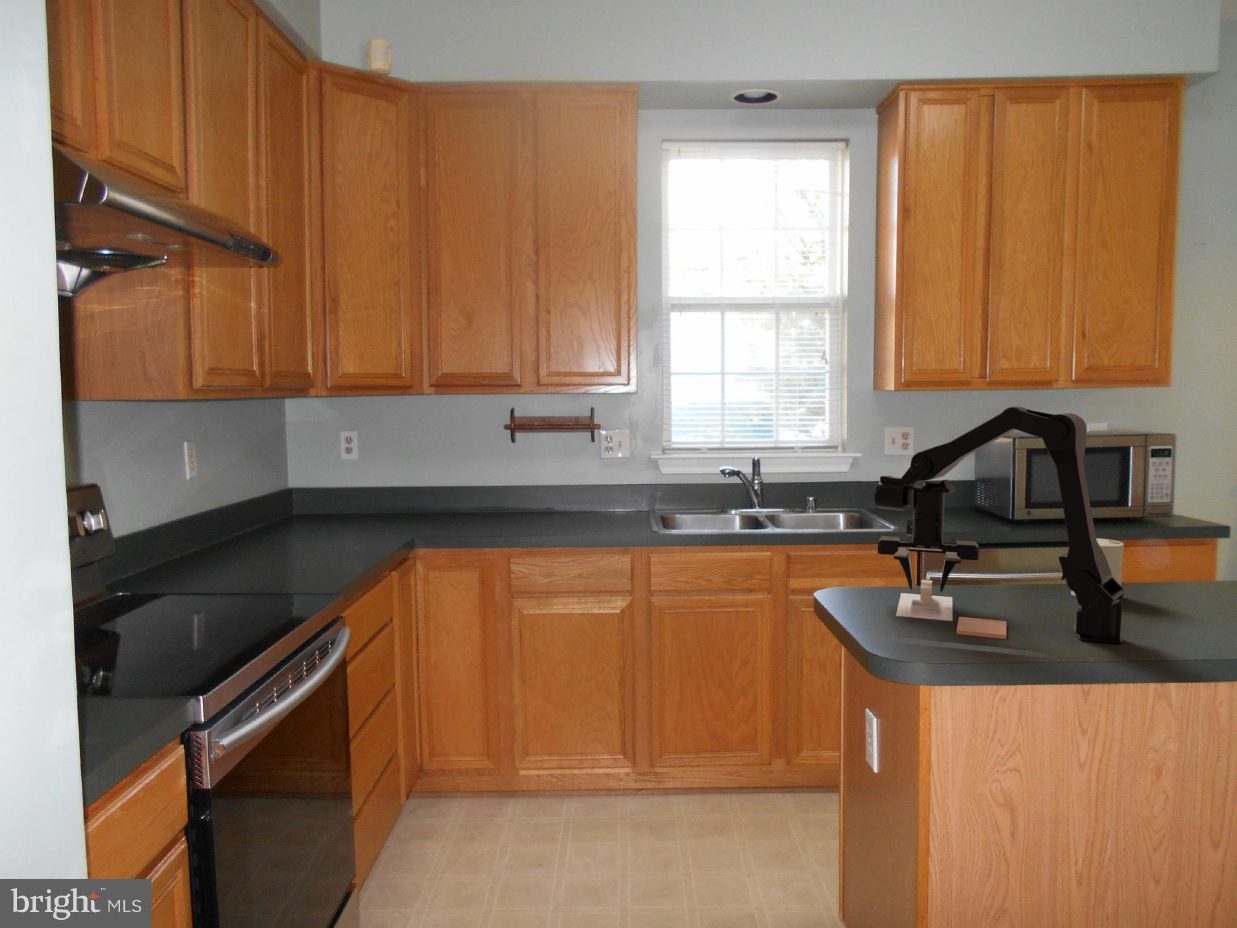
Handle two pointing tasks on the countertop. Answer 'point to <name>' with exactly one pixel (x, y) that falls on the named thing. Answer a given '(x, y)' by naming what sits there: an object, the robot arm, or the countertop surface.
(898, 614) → the board
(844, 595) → the countertop surface
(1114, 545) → the can
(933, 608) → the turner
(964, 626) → the tile
